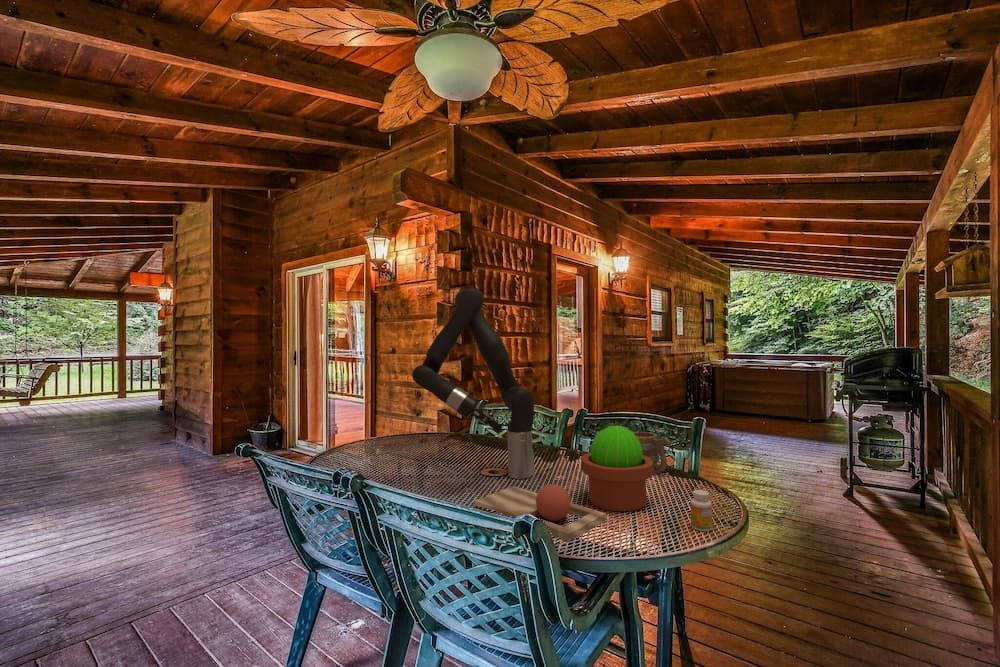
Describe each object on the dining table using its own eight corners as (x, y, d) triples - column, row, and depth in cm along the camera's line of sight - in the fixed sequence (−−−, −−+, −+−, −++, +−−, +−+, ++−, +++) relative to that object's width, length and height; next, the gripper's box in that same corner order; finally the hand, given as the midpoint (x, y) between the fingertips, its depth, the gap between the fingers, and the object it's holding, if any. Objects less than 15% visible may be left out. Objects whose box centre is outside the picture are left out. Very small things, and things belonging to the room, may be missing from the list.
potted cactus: (667, 512, 138) (665, 428, 138) (597, 518, 135) (595, 432, 134) (634, 488, 160) (632, 415, 160) (573, 492, 156) (571, 418, 156)
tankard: (620, 468, 183) (619, 430, 183) (645, 464, 188) (644, 427, 188) (655, 482, 165) (654, 440, 165) (682, 477, 170) (681, 437, 170)
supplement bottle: (687, 524, 129) (686, 489, 129) (705, 523, 130) (705, 488, 130) (697, 532, 124) (696, 496, 124) (716, 531, 124) (715, 495, 124)
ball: (580, 490, 134) (573, 522, 135) (553, 475, 141) (546, 505, 142) (560, 498, 127) (552, 531, 128) (532, 481, 133) (525, 513, 135)
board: (513, 491, 158) (513, 486, 158) (606, 520, 133) (605, 513, 133) (474, 506, 145) (474, 500, 145) (569, 541, 120) (569, 533, 120)
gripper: (466, 392, 154) (506, 419, 152) (470, 394, 168) (507, 419, 166) (453, 411, 153) (493, 439, 151) (458, 411, 167) (495, 437, 165)
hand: (500, 429), depth 159 cm, fingers open, 8 cm apart
